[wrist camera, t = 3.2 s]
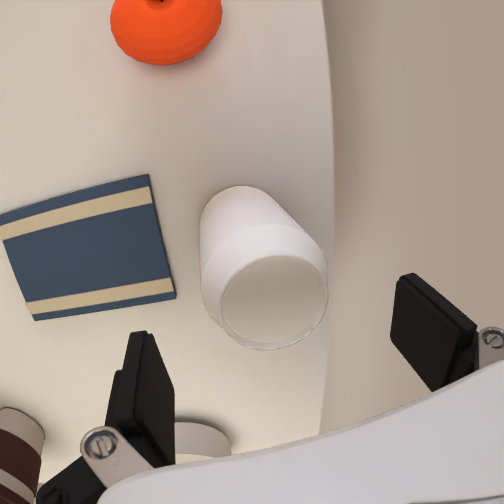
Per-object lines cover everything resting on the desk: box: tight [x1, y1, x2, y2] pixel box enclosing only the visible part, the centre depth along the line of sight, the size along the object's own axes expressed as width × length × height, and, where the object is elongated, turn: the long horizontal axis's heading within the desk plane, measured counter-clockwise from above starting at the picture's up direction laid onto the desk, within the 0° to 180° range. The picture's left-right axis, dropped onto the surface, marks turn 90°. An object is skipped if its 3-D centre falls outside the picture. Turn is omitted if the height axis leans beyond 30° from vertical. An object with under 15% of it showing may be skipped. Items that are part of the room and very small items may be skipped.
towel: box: [0, 174, 177, 321], centre depth 23 cm, size 14×10×1 cm
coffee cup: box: [0, 408, 45, 504], centre depth 23 cm, size 10×10×15 cm
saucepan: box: [175, 422, 231, 464], centre depth 33 cm, size 12×20×6 cm, turn 169°
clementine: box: [110, 0, 222, 65], centre depth 15 cm, size 8×7×7 cm
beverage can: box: [199, 186, 328, 350], centre depth 19 cm, size 6×6×12 cm
